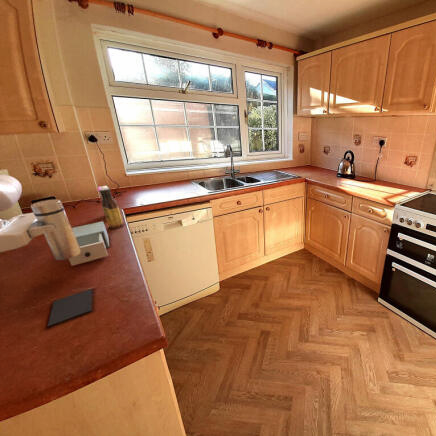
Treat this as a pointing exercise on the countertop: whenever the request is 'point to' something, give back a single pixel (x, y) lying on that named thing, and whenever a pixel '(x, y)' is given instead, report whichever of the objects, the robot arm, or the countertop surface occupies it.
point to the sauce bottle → (111, 209)
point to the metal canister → (57, 229)
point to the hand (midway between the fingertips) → (58, 222)
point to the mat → (71, 307)
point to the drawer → (90, 249)
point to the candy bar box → (99, 190)
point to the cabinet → (92, 231)
